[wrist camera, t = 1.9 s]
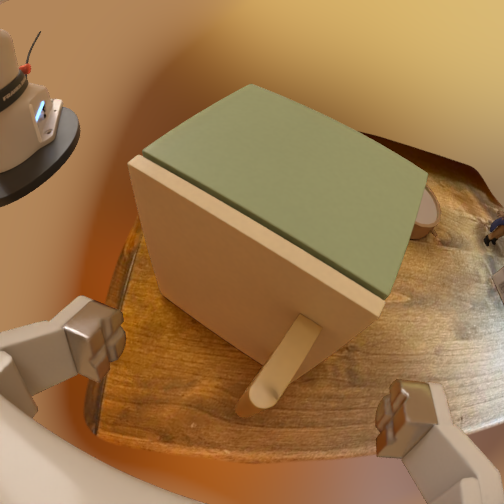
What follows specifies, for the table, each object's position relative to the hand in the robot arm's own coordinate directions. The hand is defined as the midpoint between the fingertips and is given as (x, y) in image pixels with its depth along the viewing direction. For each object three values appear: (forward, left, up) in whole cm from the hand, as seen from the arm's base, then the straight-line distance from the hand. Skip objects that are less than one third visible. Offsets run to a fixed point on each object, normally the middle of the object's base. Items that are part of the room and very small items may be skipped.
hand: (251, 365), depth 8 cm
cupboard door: (-5, -1, -21) cm, 22 cm away
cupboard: (-13, +6, -21) cm, 25 cm away
